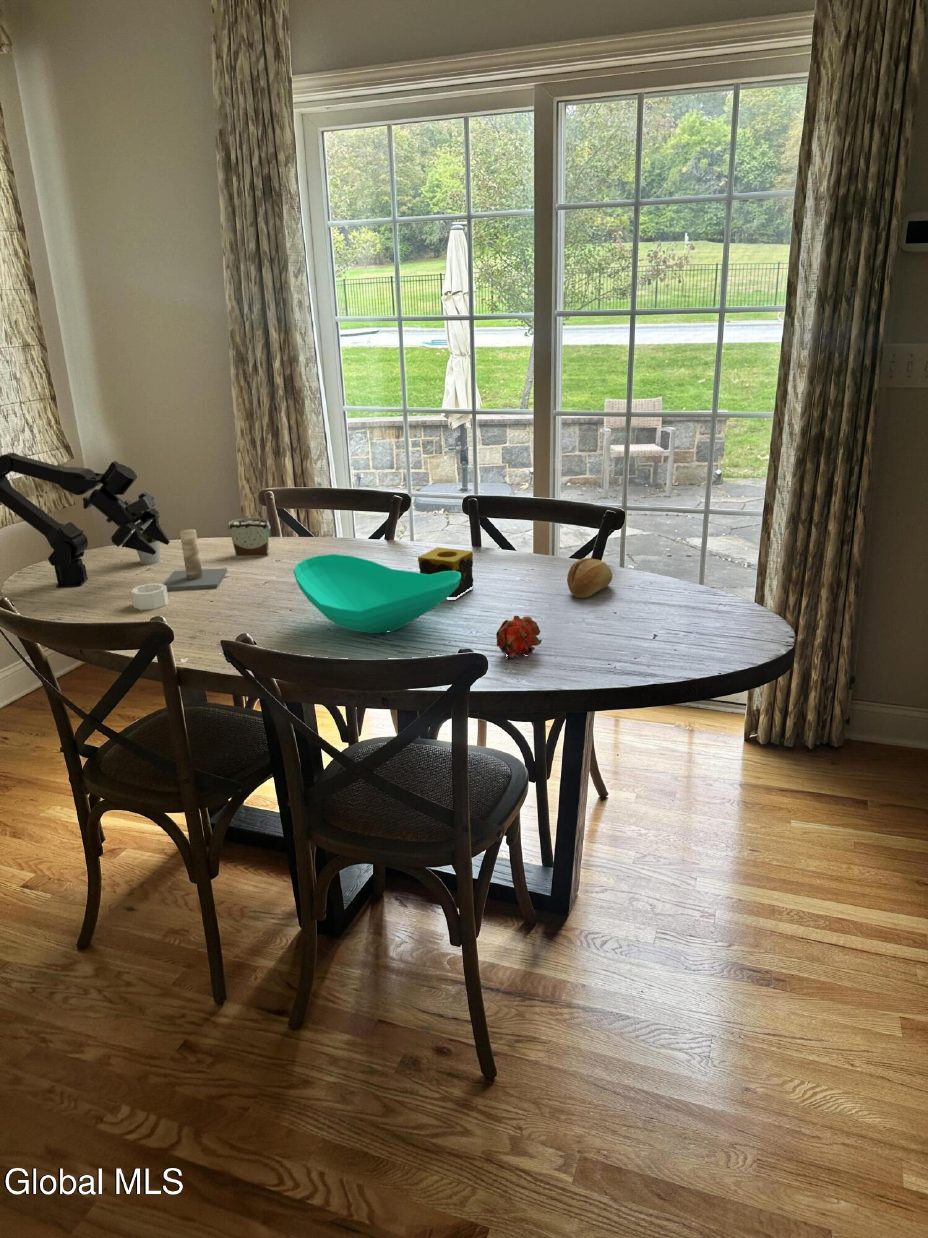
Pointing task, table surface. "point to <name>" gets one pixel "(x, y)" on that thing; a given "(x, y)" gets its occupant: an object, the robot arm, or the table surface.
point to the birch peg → (191, 554)
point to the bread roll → (588, 577)
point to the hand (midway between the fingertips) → (162, 548)
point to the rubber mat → (207, 581)
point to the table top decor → (370, 591)
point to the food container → (250, 536)
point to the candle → (449, 565)
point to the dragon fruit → (518, 636)
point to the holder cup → (149, 596)
